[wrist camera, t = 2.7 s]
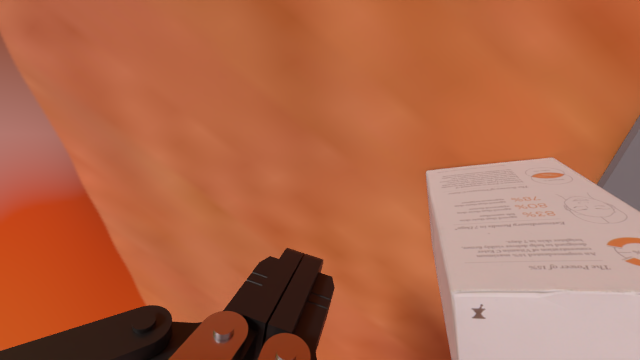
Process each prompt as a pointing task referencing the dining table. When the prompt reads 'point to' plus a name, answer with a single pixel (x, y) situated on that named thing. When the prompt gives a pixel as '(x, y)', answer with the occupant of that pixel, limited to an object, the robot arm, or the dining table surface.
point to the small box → (534, 263)
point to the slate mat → (625, 170)
